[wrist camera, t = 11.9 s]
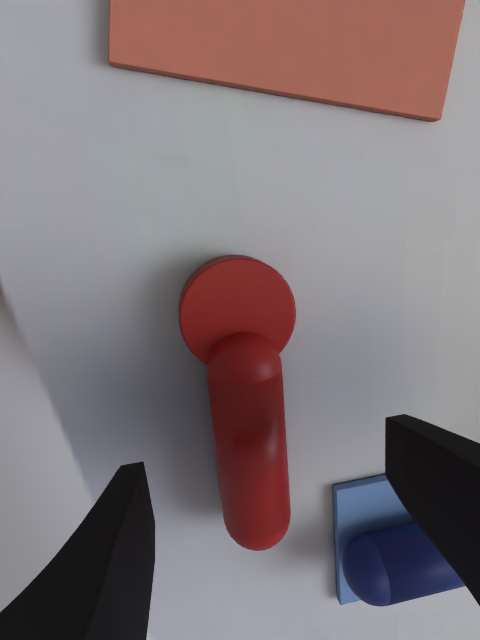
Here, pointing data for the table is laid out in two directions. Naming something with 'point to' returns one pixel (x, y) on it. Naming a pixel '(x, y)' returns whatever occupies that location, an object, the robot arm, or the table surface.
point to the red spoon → (244, 388)
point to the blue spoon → (396, 566)
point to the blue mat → (363, 518)
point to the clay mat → (298, 48)
